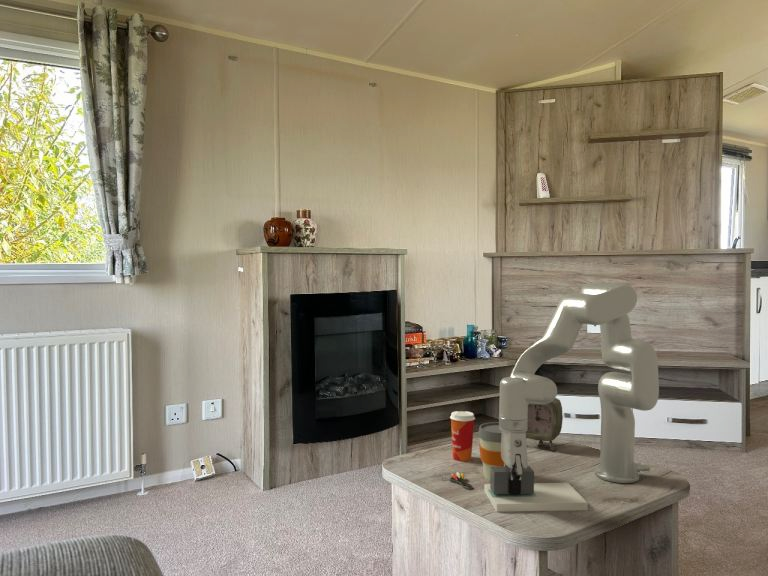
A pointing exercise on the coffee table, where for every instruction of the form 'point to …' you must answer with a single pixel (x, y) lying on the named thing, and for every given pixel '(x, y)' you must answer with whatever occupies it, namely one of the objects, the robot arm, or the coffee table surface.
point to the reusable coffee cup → (490, 447)
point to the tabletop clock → (544, 422)
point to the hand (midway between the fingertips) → (511, 489)
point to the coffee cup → (462, 435)
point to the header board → (539, 499)
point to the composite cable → (460, 480)
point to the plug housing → (502, 476)
